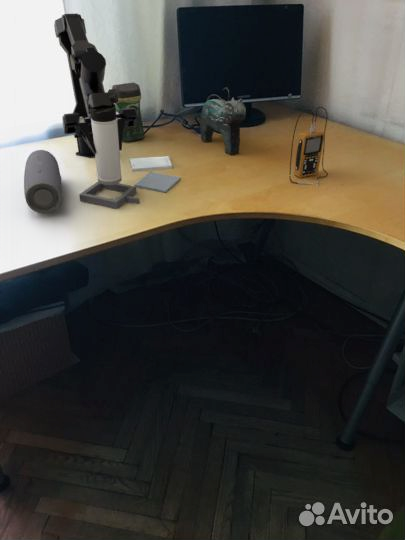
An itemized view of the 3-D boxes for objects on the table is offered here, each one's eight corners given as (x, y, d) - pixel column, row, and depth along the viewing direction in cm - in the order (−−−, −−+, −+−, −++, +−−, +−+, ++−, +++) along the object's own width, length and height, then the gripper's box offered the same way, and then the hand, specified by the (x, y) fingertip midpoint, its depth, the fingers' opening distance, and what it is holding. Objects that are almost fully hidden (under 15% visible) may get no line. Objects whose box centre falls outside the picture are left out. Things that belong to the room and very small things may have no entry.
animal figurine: (244, 154, 152) (249, 92, 140) (229, 158, 149) (232, 95, 137) (209, 137, 165) (211, 78, 154) (195, 140, 162) (195, 81, 150)
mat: (134, 186, 131) (134, 184, 130) (150, 173, 138) (150, 171, 138) (165, 192, 127) (165, 191, 127) (180, 179, 135) (180, 177, 135)
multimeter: (303, 190, 130) (315, 120, 119) (283, 177, 137) (291, 109, 126) (343, 181, 136) (357, 113, 124) (321, 169, 143) (333, 103, 131)
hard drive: (132, 168, 139) (172, 165, 141) (129, 158, 145) (168, 155, 148) (132, 173, 140) (172, 170, 142) (129, 163, 146) (168, 160, 148)
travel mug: (126, 177, 124) (120, 101, 113) (115, 187, 119) (108, 109, 108) (105, 173, 126) (97, 99, 114) (93, 183, 121) (84, 106, 109)
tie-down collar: (80, 201, 123) (79, 194, 121) (101, 186, 131) (100, 179, 129) (129, 212, 118) (128, 205, 117) (148, 195, 126) (147, 188, 125)
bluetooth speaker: (66, 215, 116) (60, 179, 110) (28, 220, 114) (19, 183, 108) (62, 179, 134) (56, 146, 128) (29, 182, 132) (21, 149, 126)
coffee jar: (137, 133, 168) (134, 79, 157) (147, 139, 162) (144, 84, 151) (113, 137, 164) (107, 82, 153) (121, 144, 158) (116, 88, 147)
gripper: (56, 80, 108) (71, 141, 106) (133, 74, 114) (148, 132, 112) (57, 104, 118) (70, 161, 117) (128, 98, 124) (141, 152, 122)
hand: (108, 151), depth 117 cm, fingers closed on travel mug, 6 cm apart
